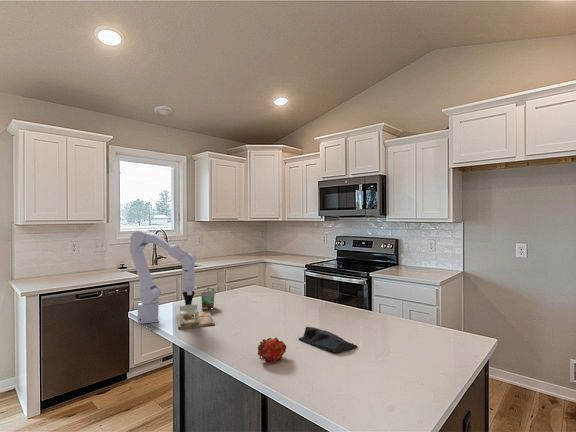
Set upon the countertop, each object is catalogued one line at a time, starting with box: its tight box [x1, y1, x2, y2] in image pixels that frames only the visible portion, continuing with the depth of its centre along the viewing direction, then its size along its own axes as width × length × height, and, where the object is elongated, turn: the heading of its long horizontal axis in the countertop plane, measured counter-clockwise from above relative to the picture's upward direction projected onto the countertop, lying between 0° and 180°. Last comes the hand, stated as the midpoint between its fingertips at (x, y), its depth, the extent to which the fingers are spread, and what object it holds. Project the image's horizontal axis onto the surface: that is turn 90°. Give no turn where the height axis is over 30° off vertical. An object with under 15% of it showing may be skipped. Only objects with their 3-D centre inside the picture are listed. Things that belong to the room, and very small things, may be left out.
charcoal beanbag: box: [298, 326, 359, 353], centre depth 131 cm, size 15×22×5 cm
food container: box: [200, 287, 217, 311], centre depth 182 cm, size 12×6×10 cm, turn 179°
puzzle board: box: [176, 311, 216, 330], centre depth 159 cm, size 16×20×1 cm
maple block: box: [183, 314, 193, 319], centre depth 163 cm, size 4×4×5 cm
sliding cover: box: [179, 303, 200, 324], centre depth 154 cm, size 8×7×7 cm
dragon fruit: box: [257, 337, 287, 364], centre depth 116 cm, size 8×8×12 cm
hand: (188, 306), depth 159 cm, fingers closed
